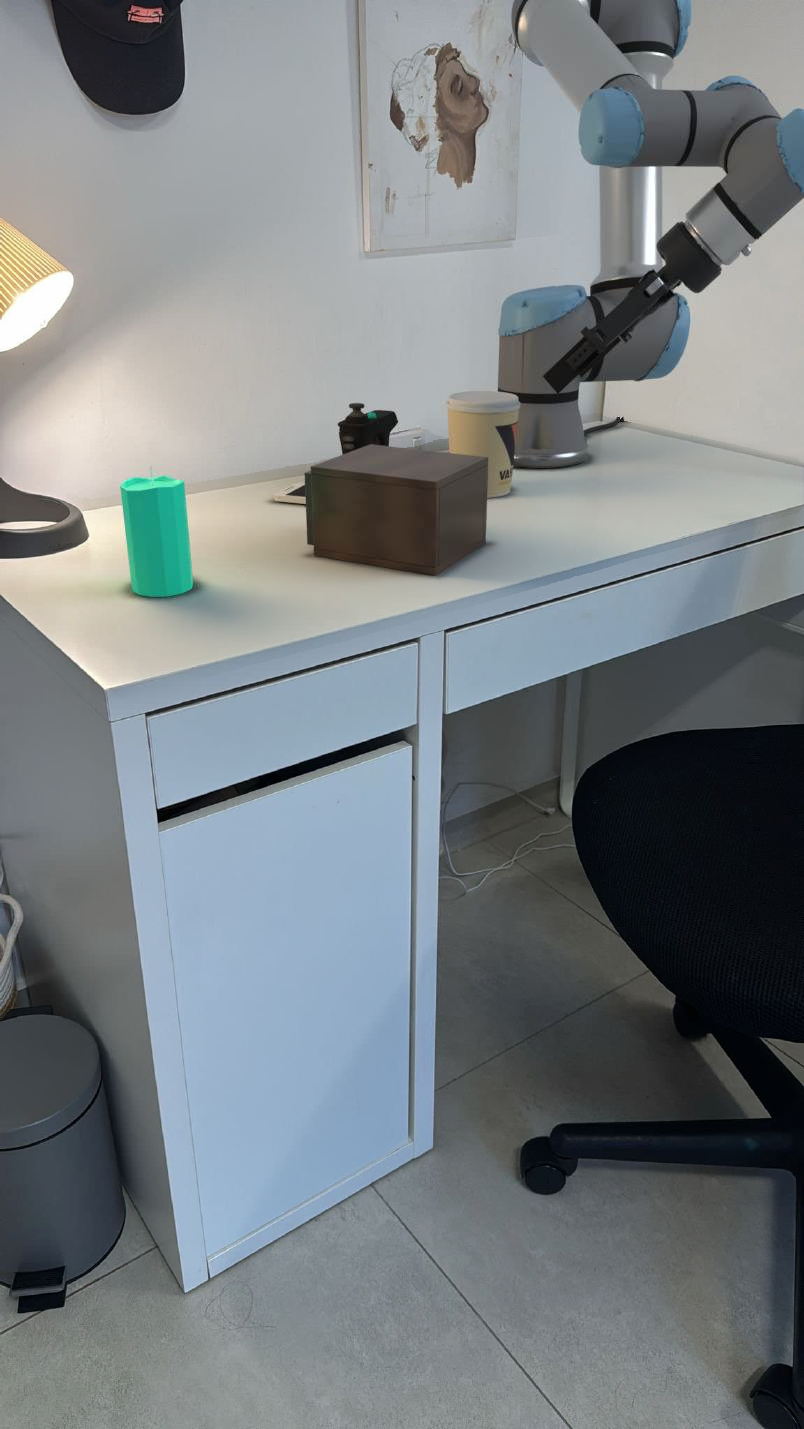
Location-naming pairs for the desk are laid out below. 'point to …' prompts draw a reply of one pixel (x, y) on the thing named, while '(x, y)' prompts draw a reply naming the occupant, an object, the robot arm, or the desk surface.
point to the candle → (157, 535)
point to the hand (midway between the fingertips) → (563, 376)
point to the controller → (365, 428)
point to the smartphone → (292, 494)
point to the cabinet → (400, 507)
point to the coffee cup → (486, 432)
